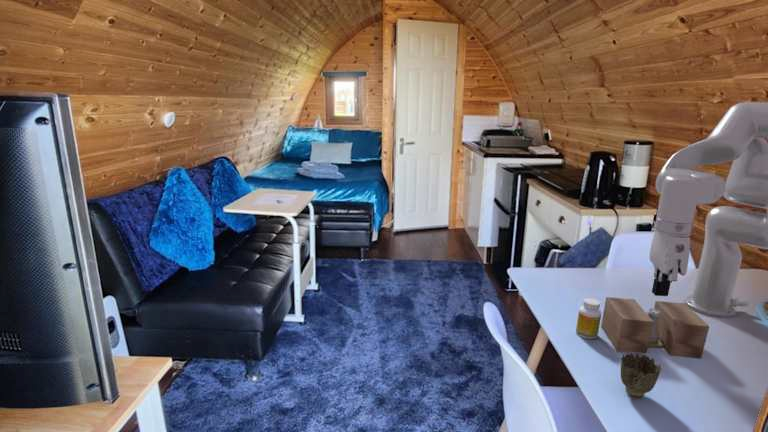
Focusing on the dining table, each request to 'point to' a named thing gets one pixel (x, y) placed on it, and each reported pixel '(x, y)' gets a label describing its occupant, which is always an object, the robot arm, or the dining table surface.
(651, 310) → the rook chess piece
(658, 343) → the gold metallic block
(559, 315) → the dining table surface
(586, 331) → the supplement bottle
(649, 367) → the cup
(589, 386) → the dining table surface
